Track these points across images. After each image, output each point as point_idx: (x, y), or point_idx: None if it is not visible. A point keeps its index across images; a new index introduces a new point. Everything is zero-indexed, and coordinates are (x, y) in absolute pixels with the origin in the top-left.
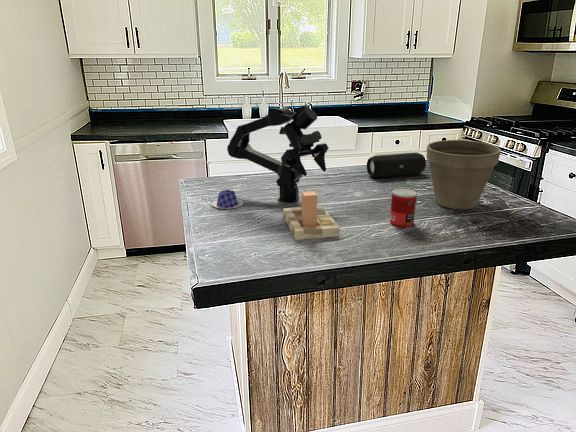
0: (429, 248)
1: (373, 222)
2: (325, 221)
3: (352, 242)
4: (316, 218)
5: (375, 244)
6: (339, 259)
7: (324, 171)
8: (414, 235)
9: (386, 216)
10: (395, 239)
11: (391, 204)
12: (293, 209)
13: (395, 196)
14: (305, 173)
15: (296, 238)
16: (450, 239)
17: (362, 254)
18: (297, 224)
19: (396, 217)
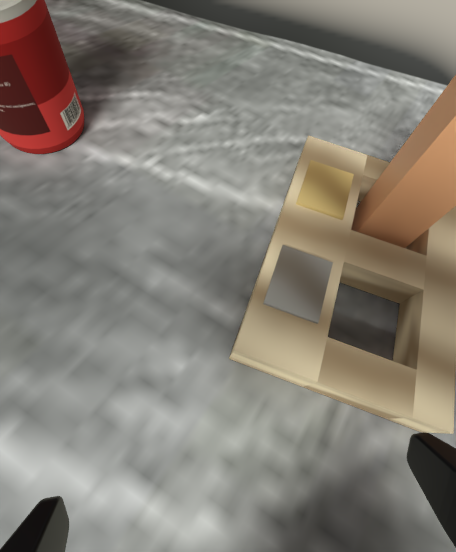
0: (144, 20)
1: (118, 175)
2: (332, 184)
3: (287, 119)
4: (388, 167)
5: (240, 85)
6: (368, 84)
7: (67, 516)
8: (104, 65)
9: (23, 186)
10: (171, 76)
11: (45, 72)
12: (402, 386)
13: (39, 3)
14: (443, 443)
15: None
16: (53, 17)
17: (305, 73)
18: (439, 224)
19: (75, 90)
